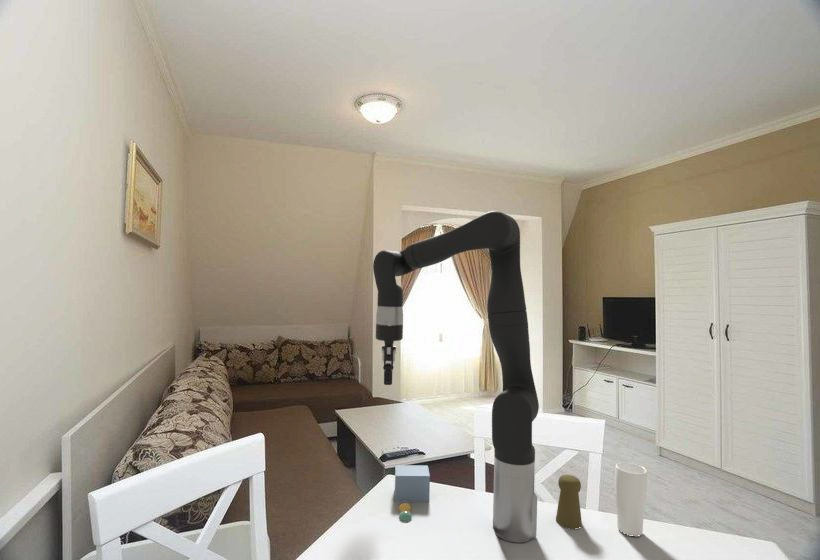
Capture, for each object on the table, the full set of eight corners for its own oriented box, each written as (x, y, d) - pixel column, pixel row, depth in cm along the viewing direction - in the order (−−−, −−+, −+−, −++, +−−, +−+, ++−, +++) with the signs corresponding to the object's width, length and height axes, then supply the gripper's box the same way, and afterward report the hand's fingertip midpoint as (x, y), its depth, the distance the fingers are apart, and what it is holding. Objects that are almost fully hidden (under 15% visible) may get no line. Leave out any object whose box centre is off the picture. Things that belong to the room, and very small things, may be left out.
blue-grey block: (394, 507, 110) (395, 475, 110) (394, 494, 116) (395, 465, 116) (429, 507, 110) (429, 476, 110) (427, 495, 116) (427, 465, 116)
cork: (581, 518, 107) (582, 473, 107) (583, 531, 101) (584, 484, 101) (555, 513, 108) (556, 470, 109) (555, 526, 103) (556, 480, 103)
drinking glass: (650, 542, 97) (651, 475, 97) (618, 537, 99) (619, 472, 99) (640, 525, 104) (641, 463, 104) (610, 521, 105) (611, 460, 105)
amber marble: (410, 512, 107) (410, 500, 107) (411, 518, 104) (411, 506, 104) (398, 512, 107) (398, 500, 107) (398, 518, 104) (399, 506, 104)
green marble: (411, 520, 103) (411, 508, 104) (411, 527, 100) (412, 514, 101) (398, 520, 103) (399, 508, 103) (399, 527, 100) (399, 514, 100)
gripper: (376, 320, 126) (375, 375, 126) (375, 324, 112) (373, 387, 112) (402, 320, 126) (400, 375, 126) (403, 325, 112) (402, 387, 112)
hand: (388, 381), depth 119 cm, fingers open, 8 cm apart
